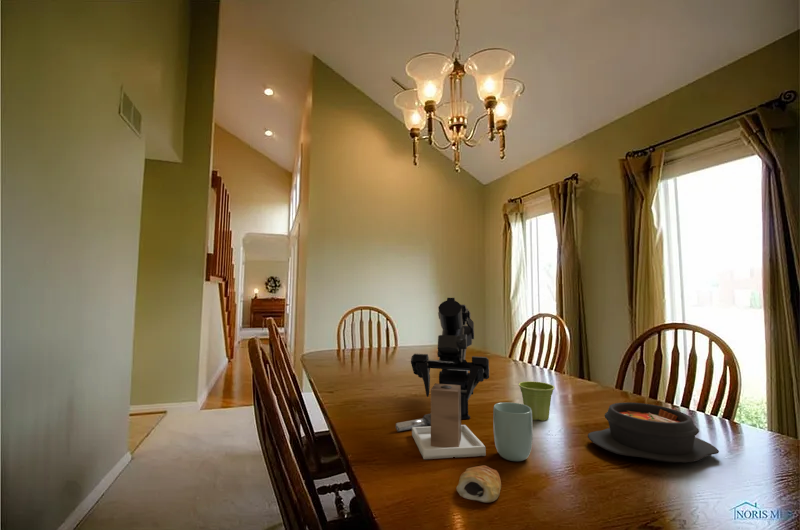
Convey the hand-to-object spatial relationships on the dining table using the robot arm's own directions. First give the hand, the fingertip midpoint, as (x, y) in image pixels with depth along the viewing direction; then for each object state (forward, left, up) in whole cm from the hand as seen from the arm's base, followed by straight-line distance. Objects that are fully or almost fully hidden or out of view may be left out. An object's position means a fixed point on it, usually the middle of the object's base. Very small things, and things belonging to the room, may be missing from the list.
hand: (447, 397), depth 84 cm
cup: (-11, +9, -10) cm, 18 cm away
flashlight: (+6, -10, -10) cm, 15 cm away
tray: (+1, +1, -10) cm, 10 cm away
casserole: (-42, +10, -10) cm, 45 cm away
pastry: (0, +21, -10) cm, 23 cm away
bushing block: (+1, +1, -9) cm, 10 cm away
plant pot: (-29, -14, -10) cm, 34 cm away
